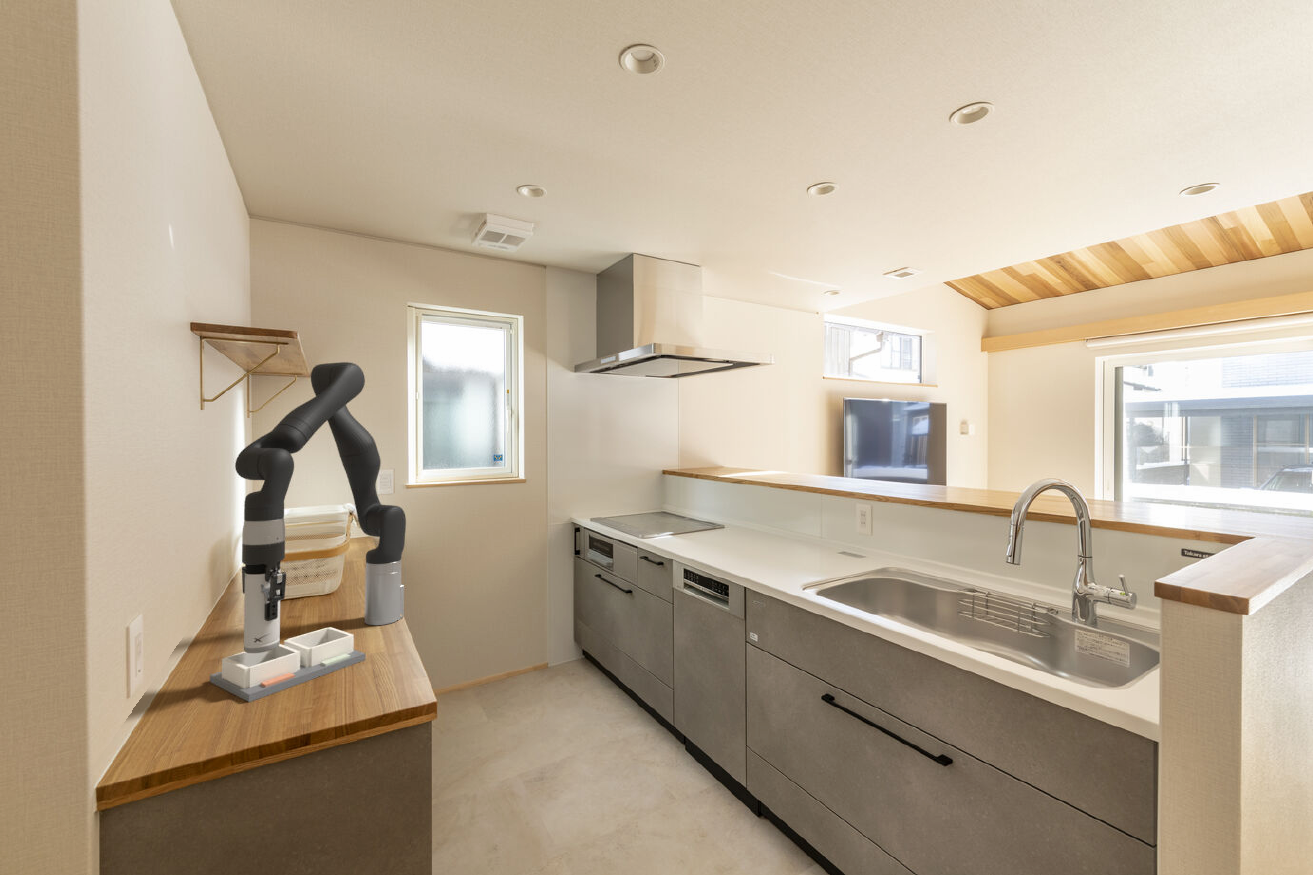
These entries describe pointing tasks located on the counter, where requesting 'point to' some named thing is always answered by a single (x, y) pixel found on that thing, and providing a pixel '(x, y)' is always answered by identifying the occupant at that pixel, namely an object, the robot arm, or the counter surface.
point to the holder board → (287, 664)
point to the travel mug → (258, 613)
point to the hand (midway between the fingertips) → (262, 616)
